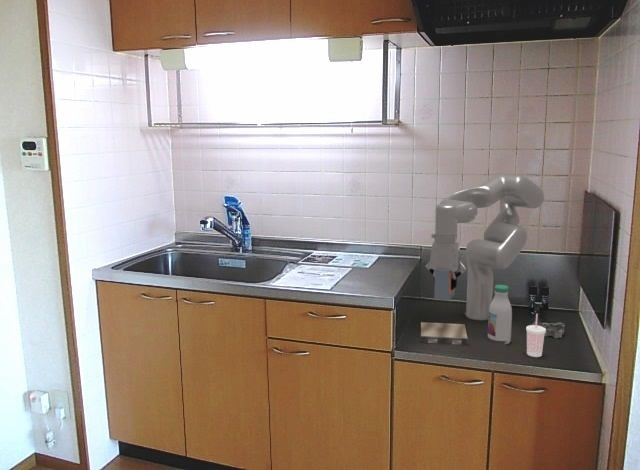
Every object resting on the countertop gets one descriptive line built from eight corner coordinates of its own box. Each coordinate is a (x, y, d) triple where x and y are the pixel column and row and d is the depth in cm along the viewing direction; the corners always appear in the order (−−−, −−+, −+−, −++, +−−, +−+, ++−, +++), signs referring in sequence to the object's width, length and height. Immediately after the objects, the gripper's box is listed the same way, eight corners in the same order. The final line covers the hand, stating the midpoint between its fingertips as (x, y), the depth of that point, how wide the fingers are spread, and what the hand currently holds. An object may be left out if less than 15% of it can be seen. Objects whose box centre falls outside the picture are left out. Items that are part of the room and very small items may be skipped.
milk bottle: (510, 338, 198) (513, 284, 194) (510, 346, 191) (513, 290, 187) (488, 335, 201) (490, 282, 197) (486, 343, 194) (489, 288, 190)
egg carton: (565, 333, 202) (566, 323, 201) (560, 340, 196) (560, 329, 196) (535, 327, 209) (536, 317, 208) (529, 333, 203) (529, 323, 202)
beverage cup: (543, 351, 187) (545, 311, 184) (545, 358, 181) (548, 317, 178) (523, 349, 188) (526, 310, 186) (525, 356, 183) (527, 316, 180)
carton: (441, 292, 206) (442, 263, 204) (455, 294, 204) (456, 265, 202) (434, 298, 200) (434, 269, 197) (448, 300, 197) (449, 270, 195)
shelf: (464, 328, 209) (464, 319, 208) (468, 349, 189) (469, 339, 188) (420, 325, 212) (421, 317, 211) (420, 346, 192) (420, 337, 191)
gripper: (419, 238, 198) (418, 287, 202) (467, 243, 190) (465, 294, 194) (426, 234, 205) (426, 282, 209) (473, 238, 196) (471, 288, 200)
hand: (445, 287), depth 201 cm, fingers closed on carton, 5 cm apart
